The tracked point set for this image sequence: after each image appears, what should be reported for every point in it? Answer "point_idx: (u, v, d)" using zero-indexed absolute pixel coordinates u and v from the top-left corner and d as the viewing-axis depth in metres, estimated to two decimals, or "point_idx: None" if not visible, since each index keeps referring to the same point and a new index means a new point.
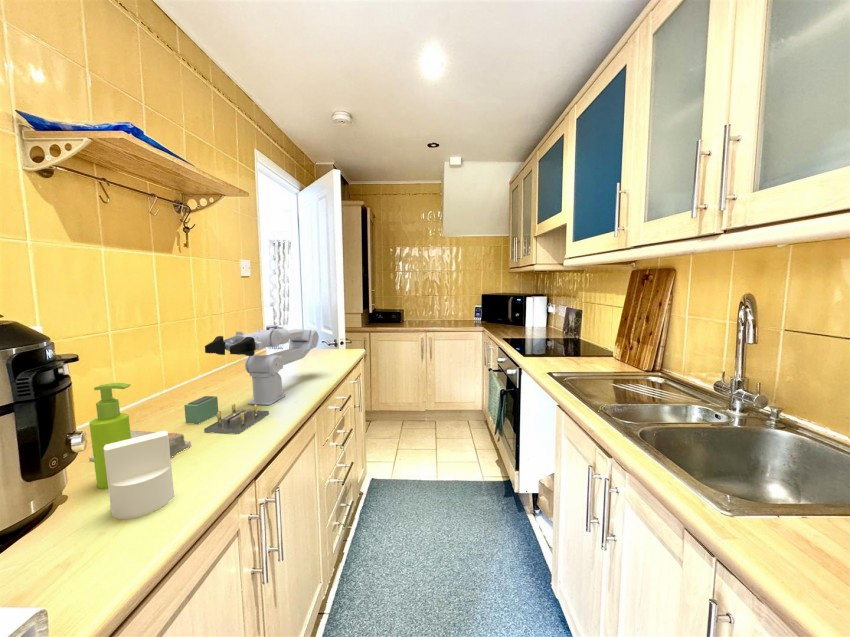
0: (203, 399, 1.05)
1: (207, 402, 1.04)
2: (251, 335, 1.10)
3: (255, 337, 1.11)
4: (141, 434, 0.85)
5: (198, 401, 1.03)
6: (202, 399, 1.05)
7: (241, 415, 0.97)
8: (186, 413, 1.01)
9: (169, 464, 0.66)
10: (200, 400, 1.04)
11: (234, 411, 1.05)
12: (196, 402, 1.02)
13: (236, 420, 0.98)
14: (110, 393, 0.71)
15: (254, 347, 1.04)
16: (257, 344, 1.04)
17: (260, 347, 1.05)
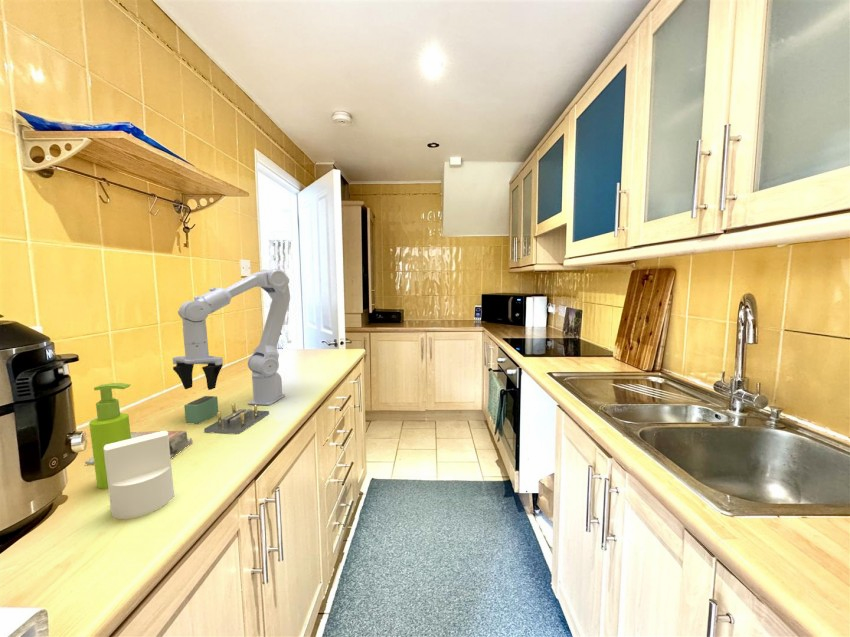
0: (203, 399, 1.05)
1: (207, 402, 1.04)
2: (194, 348, 1.01)
3: (198, 345, 1.01)
4: (140, 434, 0.85)
5: (198, 401, 1.03)
6: (202, 399, 1.05)
7: (241, 415, 0.97)
8: (186, 413, 1.01)
9: (169, 464, 0.66)
10: (200, 400, 1.04)
11: (234, 411, 1.05)
12: (196, 402, 1.02)
13: (236, 420, 0.98)
14: (110, 393, 0.71)
15: (217, 365, 1.03)
16: None
17: (221, 361, 1.03)
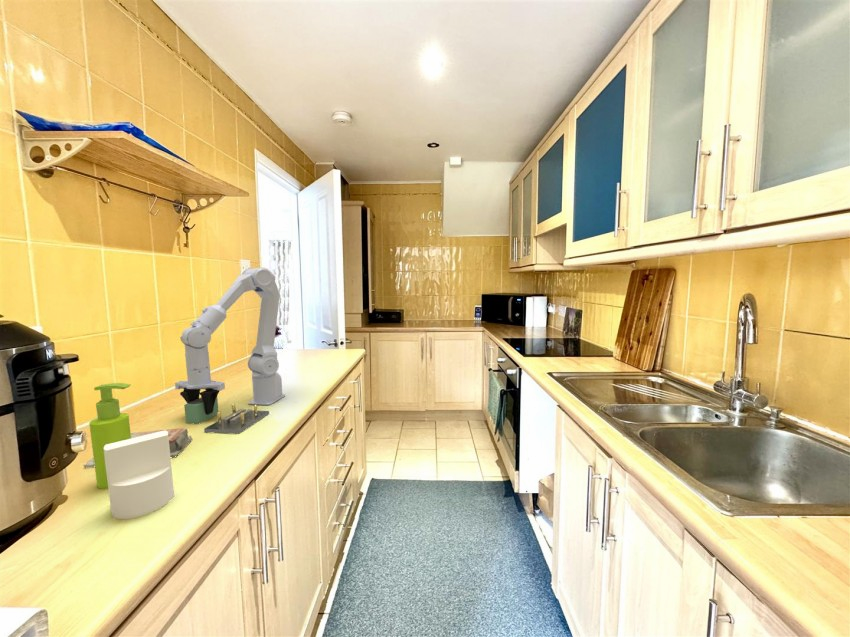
0: None
1: None
2: (196, 374, 1.01)
3: (200, 371, 1.02)
4: (139, 434, 0.85)
5: (198, 401, 1.03)
6: (202, 399, 1.05)
7: (241, 415, 0.97)
8: (186, 413, 1.01)
9: (169, 464, 0.66)
10: (200, 400, 1.04)
11: (234, 411, 1.05)
12: (196, 402, 1.02)
13: (236, 420, 0.98)
14: (110, 392, 0.71)
15: (215, 390, 1.04)
16: None
17: (223, 386, 1.04)
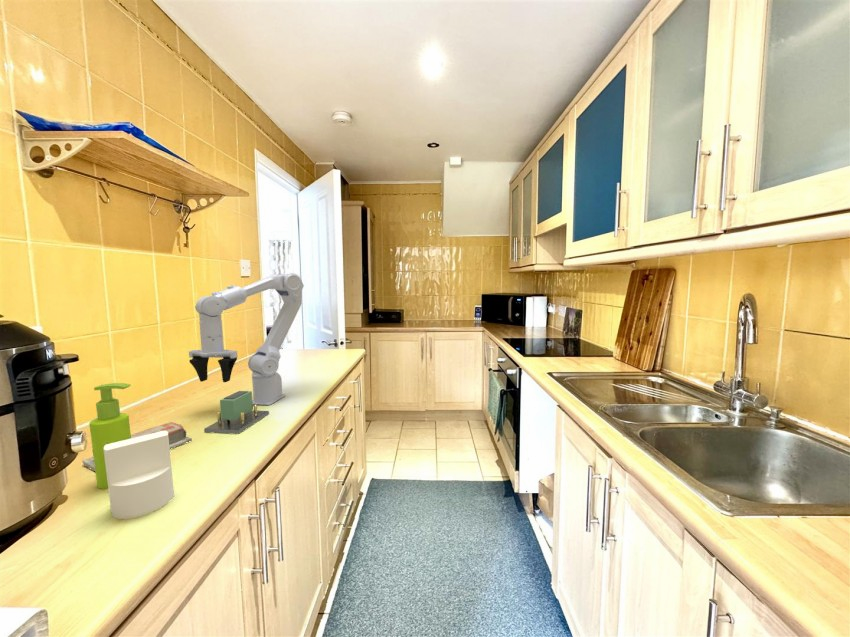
0: (238, 394, 1.01)
1: (242, 397, 1.00)
2: (210, 342, 1.04)
3: (214, 339, 1.04)
4: (133, 436, 0.84)
5: (233, 396, 0.99)
6: (237, 394, 1.01)
7: (241, 415, 0.97)
8: (221, 408, 0.97)
9: (169, 464, 0.66)
10: (235, 395, 1.00)
11: None
12: (232, 397, 0.98)
13: (236, 420, 0.98)
14: (110, 392, 0.71)
15: (232, 358, 1.06)
16: None
17: (236, 354, 1.06)
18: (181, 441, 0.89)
